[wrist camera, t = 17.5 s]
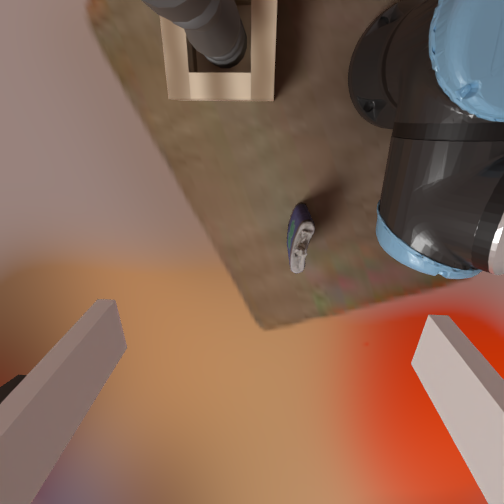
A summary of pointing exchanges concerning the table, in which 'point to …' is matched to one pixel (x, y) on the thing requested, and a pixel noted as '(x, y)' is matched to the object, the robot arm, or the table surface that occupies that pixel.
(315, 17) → the table surface
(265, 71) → the socket block
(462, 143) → the robot arm
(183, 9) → the candle holder
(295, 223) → the flask
